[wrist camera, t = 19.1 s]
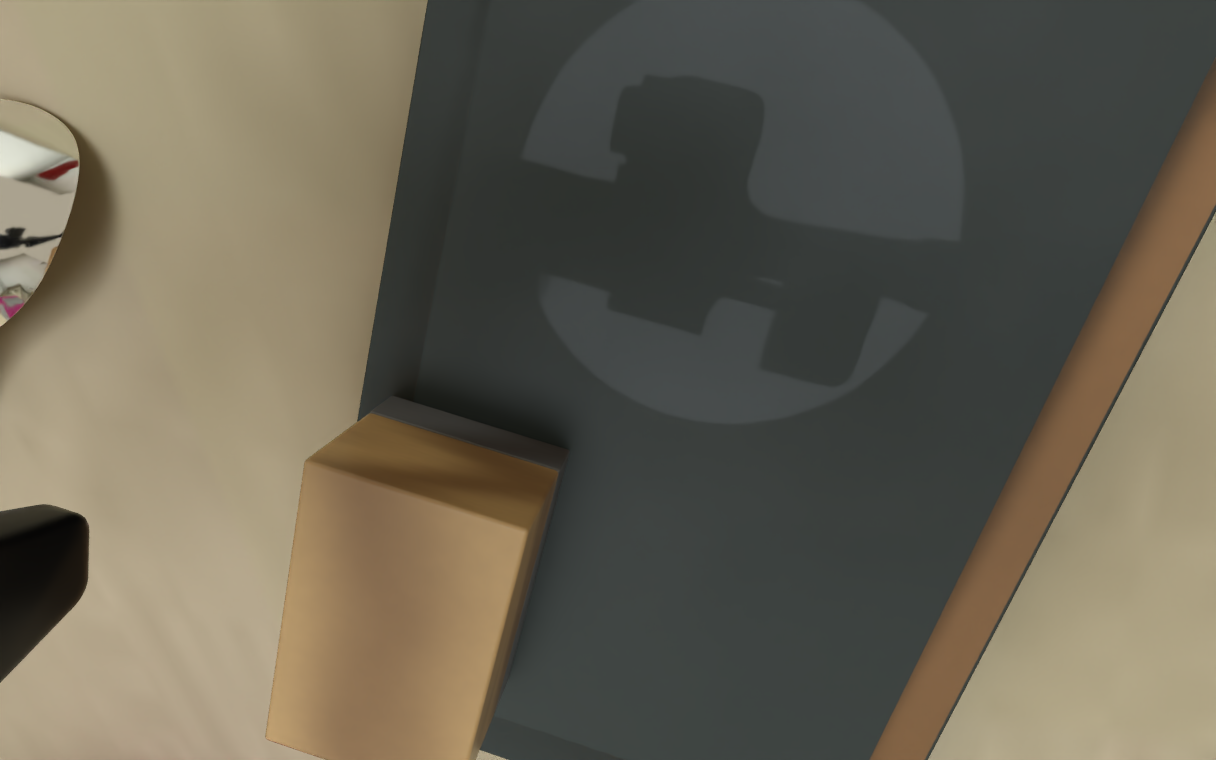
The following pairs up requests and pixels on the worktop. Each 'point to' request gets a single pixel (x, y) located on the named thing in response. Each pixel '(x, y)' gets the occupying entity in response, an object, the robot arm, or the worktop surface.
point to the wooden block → (409, 584)
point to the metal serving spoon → (32, 198)
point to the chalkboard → (786, 332)
